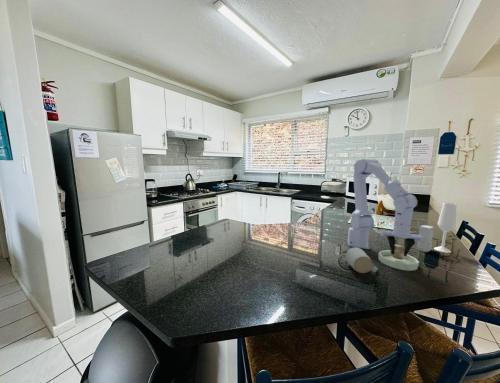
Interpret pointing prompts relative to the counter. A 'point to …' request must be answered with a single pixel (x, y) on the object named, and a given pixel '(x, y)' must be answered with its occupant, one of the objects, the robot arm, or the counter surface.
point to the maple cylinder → (399, 252)
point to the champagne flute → (446, 223)
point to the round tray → (398, 261)
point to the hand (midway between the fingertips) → (398, 254)
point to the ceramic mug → (360, 260)
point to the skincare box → (425, 238)
